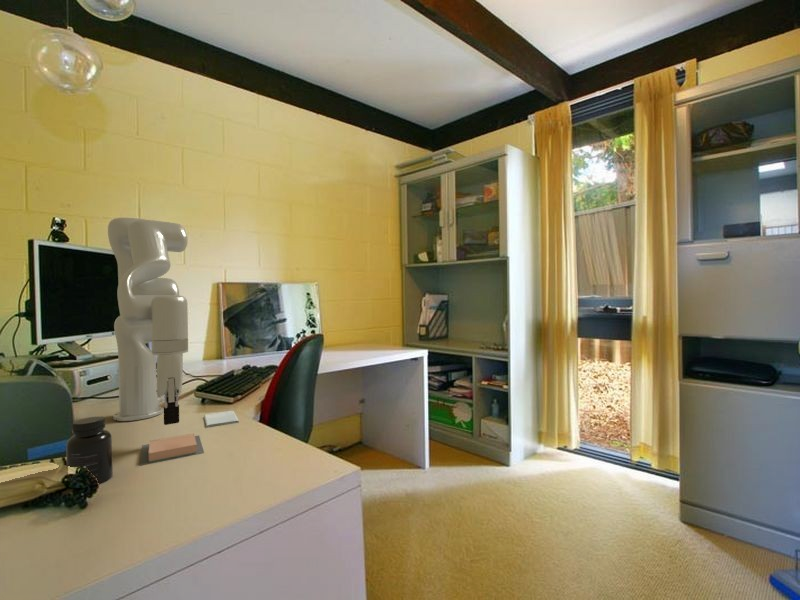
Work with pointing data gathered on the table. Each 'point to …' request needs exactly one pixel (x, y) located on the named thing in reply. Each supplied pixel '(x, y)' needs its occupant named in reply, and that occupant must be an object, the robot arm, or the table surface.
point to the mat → (146, 461)
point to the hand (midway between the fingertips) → (171, 422)
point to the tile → (172, 447)
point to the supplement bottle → (91, 448)
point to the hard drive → (220, 418)
